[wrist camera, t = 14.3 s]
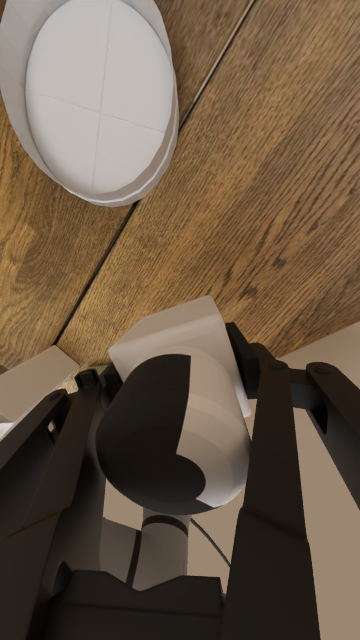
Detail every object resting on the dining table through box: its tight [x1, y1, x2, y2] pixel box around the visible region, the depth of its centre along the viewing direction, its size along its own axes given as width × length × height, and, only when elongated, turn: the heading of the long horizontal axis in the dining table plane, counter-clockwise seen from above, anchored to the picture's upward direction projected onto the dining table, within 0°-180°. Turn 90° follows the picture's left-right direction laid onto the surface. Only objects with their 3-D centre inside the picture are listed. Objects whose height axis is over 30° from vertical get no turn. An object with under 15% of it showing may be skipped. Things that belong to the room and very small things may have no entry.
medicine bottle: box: [95, 295, 251, 515], centre depth 12 cm, size 7×7×12 cm
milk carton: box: [0, 345, 80, 439], centre depth 30 cm, size 7×7×19 cm
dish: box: [0, 0, 179, 207], centre depth 23 cm, size 22×22×5 cm
